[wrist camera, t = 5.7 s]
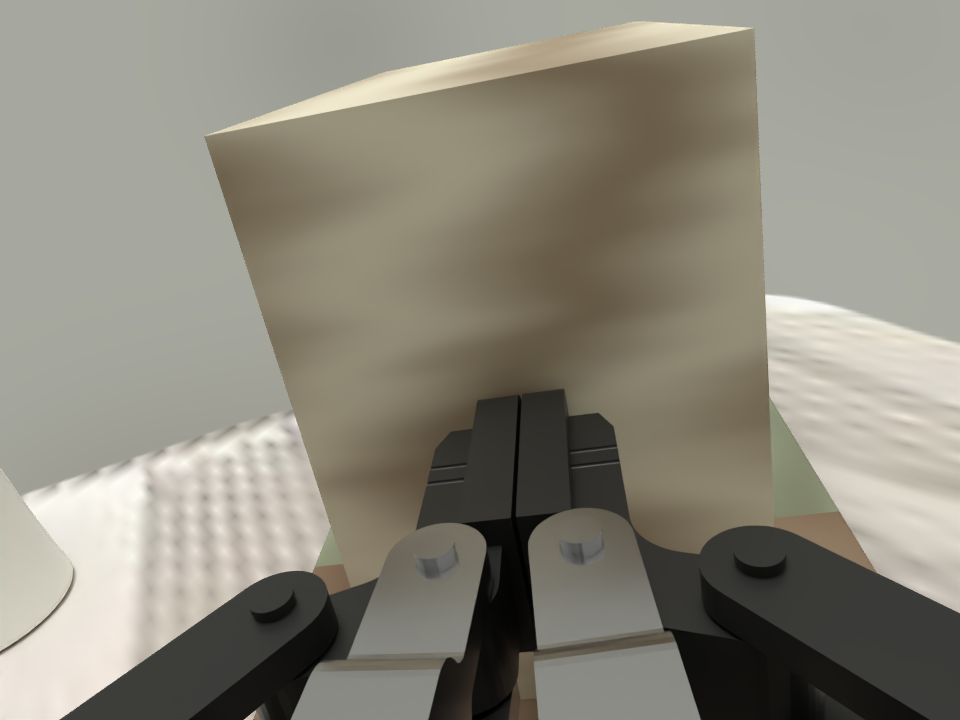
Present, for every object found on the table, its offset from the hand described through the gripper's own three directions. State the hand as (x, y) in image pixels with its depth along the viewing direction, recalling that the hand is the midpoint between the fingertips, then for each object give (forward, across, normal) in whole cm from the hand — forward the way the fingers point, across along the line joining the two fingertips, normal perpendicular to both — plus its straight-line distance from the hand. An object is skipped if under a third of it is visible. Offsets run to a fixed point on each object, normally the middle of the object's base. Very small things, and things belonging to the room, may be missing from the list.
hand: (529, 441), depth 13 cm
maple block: (+7, 0, +6) cm, 9 cm away
